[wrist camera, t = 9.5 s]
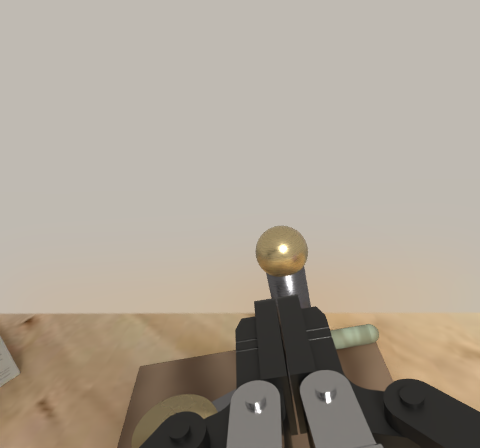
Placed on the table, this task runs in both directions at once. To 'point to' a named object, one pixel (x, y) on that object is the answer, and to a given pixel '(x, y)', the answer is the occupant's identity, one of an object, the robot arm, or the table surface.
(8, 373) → the skincare box
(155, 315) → the table surface
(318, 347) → the robot arm
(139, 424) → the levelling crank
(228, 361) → the walnut base
